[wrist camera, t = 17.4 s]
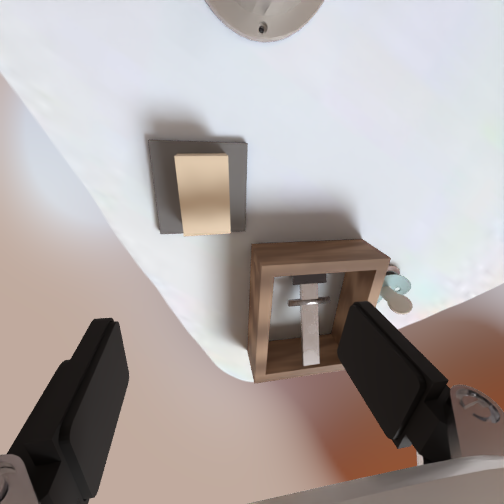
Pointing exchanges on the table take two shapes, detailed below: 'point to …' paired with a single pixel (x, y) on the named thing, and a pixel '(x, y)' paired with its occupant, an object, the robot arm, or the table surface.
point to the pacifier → (396, 298)
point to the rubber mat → (168, 185)
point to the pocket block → (303, 263)
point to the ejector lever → (309, 314)
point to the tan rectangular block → (203, 193)
